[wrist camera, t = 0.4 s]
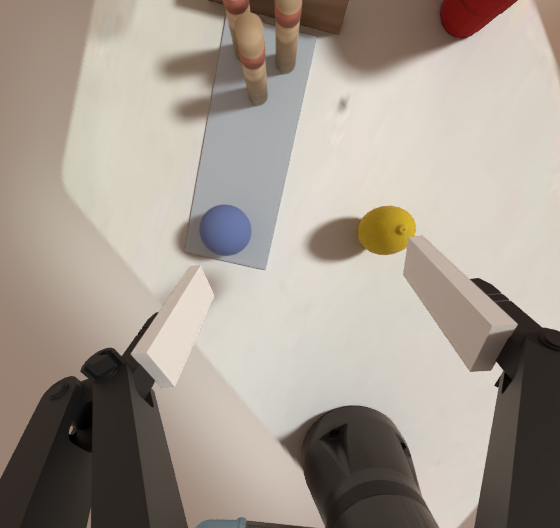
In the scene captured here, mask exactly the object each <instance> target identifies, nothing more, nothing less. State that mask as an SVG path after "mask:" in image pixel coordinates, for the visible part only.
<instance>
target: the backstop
mask: <svg viewBox="0 0 560 528" xmlns="http://www.w3.org/2000/svg"><path fill="white" fill-rule="evenodd" d="M210 1H214V2H217V3H221V4H223V0H210ZM348 1H349V0H302V10H301V18H300V24H301V25H305V26H309V27H313V28H317V29H320V30H324V31H328V32H332V33H336V34H339V31H340V28H341V24H342V21H343V18H344V14H345V11H346V8H347V4H348ZM249 5H250V11H252V12H256V13H259V14H263V15H267V16H271V17H275V0H249Z"/></svg>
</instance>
